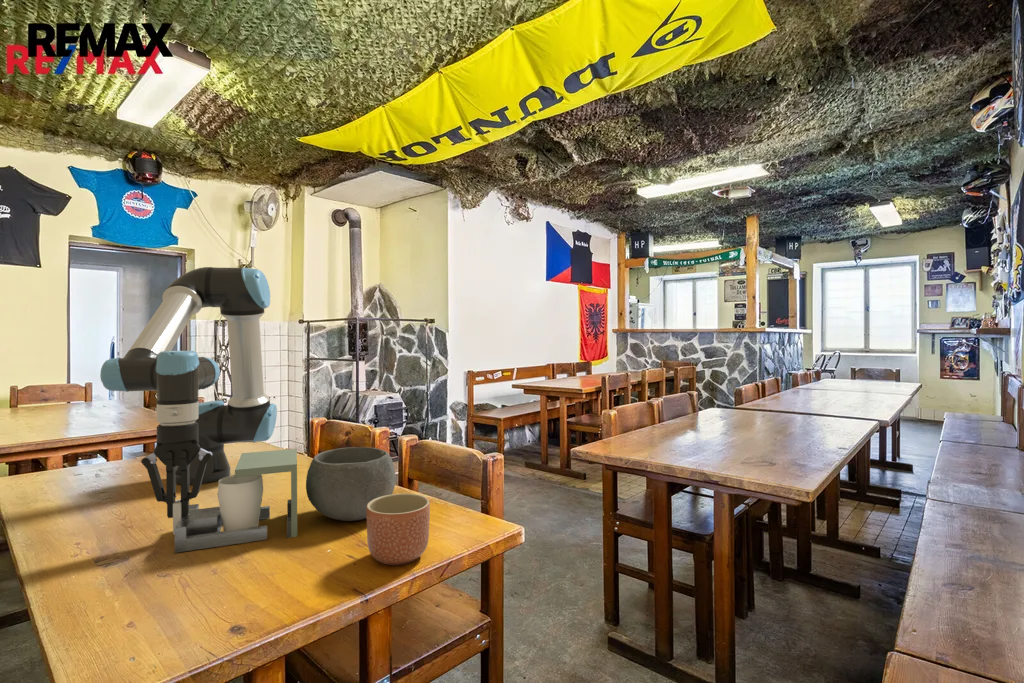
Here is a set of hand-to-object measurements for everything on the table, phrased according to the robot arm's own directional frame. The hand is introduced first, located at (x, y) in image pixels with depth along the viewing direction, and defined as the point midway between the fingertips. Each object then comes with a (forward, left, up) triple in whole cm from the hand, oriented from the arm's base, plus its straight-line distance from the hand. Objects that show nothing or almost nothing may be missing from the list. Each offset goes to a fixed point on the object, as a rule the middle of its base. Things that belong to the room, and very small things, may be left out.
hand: (178, 531), depth 108 cm
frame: (0, +8, -2) cm, 8 cm away
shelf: (0, +17, -2) cm, 17 cm away
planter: (+27, +42, -2) cm, 50 cm away
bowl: (-1, +36, -2) cm, 36 cm away
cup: (0, +12, -2) cm, 12 cm away
